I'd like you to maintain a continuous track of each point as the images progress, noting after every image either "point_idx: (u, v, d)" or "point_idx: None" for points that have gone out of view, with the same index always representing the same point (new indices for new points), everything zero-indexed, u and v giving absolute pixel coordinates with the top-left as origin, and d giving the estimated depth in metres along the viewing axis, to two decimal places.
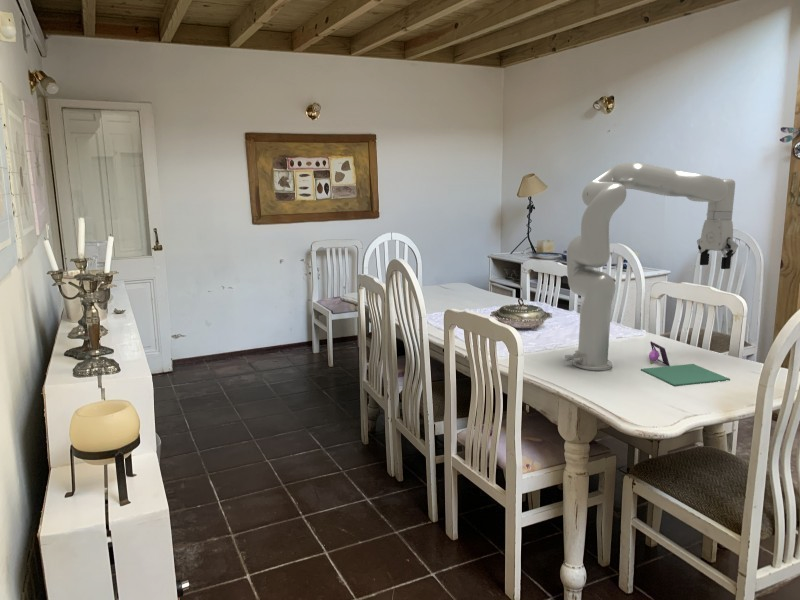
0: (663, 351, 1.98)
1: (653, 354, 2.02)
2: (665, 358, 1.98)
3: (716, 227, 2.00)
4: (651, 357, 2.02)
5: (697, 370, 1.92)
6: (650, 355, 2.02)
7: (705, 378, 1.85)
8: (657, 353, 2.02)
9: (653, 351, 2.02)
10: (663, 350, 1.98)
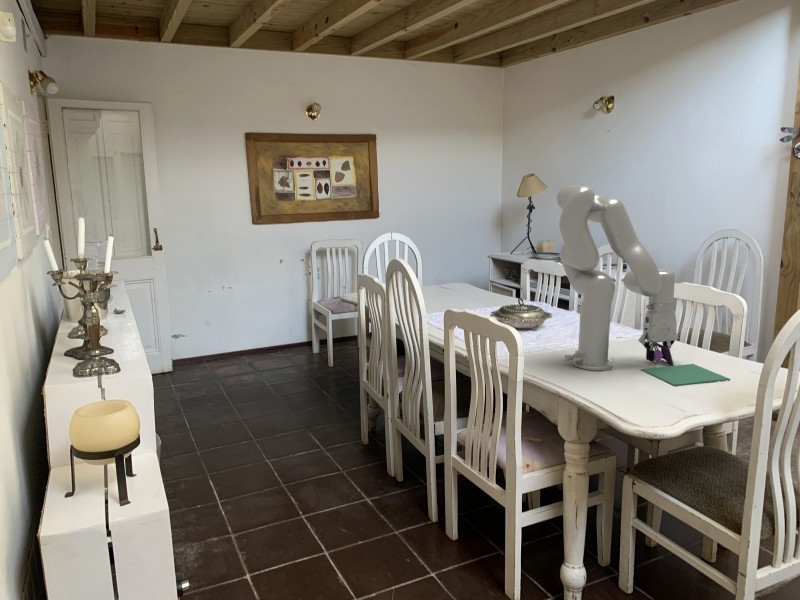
0: (667, 351, 1.97)
1: (657, 354, 2.01)
2: (669, 358, 1.98)
3: (671, 318, 1.98)
4: (655, 357, 2.01)
5: (697, 370, 1.92)
6: (654, 355, 2.01)
7: (705, 378, 1.85)
8: (661, 353, 2.01)
9: (656, 351, 2.02)
10: (667, 350, 1.97)
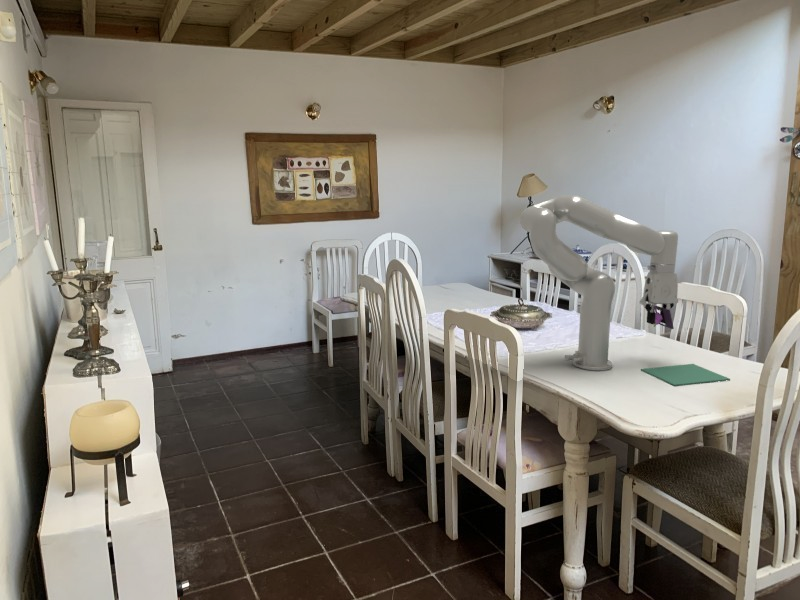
0: (668, 313, 1.95)
1: (656, 317, 1.98)
2: (669, 320, 1.95)
3: (672, 280, 1.95)
4: None
5: (697, 370, 1.92)
6: None
7: (705, 378, 1.85)
8: (660, 316, 1.98)
9: (656, 314, 1.99)
10: (668, 312, 1.94)
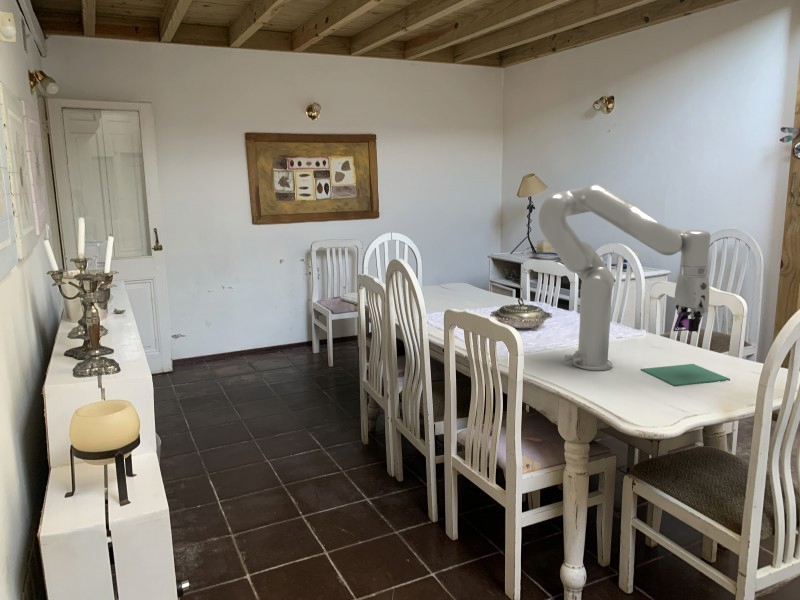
0: None
1: None
2: None
3: None
4: None
5: (697, 370, 1.92)
6: None
7: (705, 378, 1.85)
8: None
9: None
10: None
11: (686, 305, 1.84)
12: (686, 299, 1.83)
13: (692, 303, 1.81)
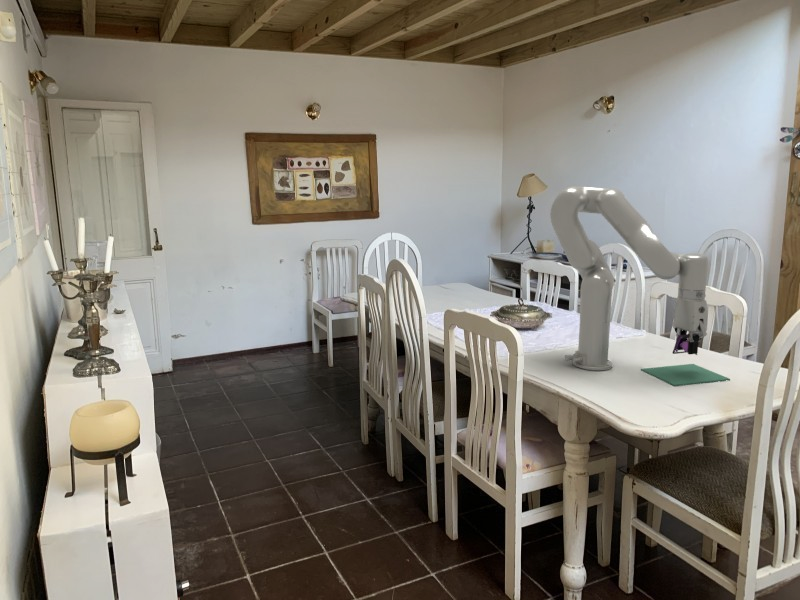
0: None
1: None
2: None
3: None
4: None
5: (697, 370, 1.92)
6: None
7: (705, 378, 1.85)
8: None
9: None
10: None
11: (685, 328, 1.85)
12: (685, 322, 1.84)
13: (691, 326, 1.82)
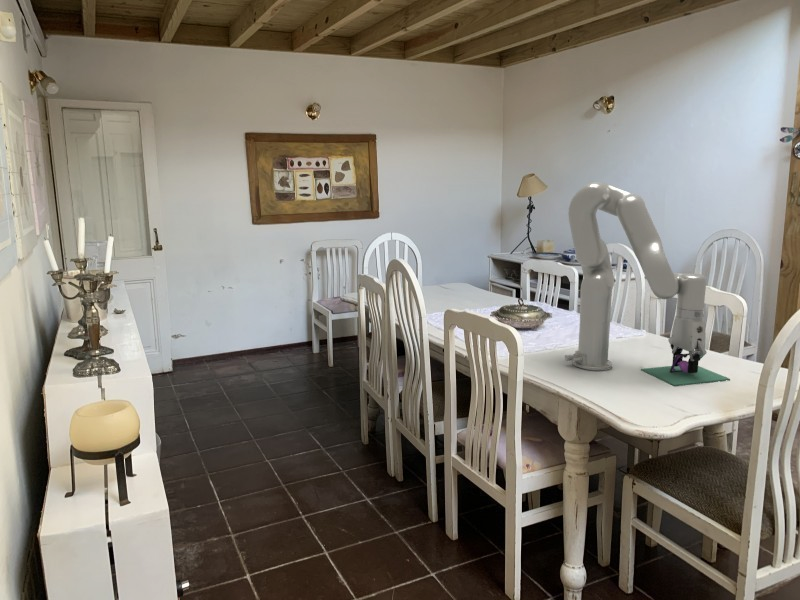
0: None
1: None
2: None
3: None
4: None
5: None
6: None
7: (705, 378, 1.85)
8: None
9: (687, 362, 1.88)
10: None
11: (683, 347, 1.86)
12: (683, 341, 1.86)
13: (689, 346, 1.83)
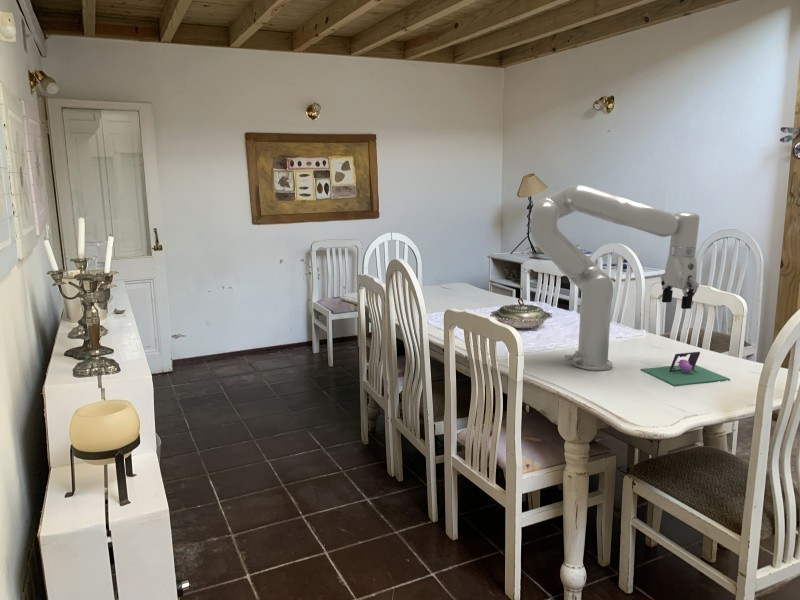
0: (696, 355, 1.91)
1: (689, 364, 1.89)
2: (694, 362, 1.92)
3: None
4: (691, 367, 1.88)
5: (697, 370, 1.92)
6: (690, 366, 1.88)
7: (705, 378, 1.85)
8: None
9: (687, 361, 1.89)
10: (697, 354, 1.91)
11: (674, 285, 1.90)
12: (674, 279, 1.89)
13: (679, 283, 1.87)
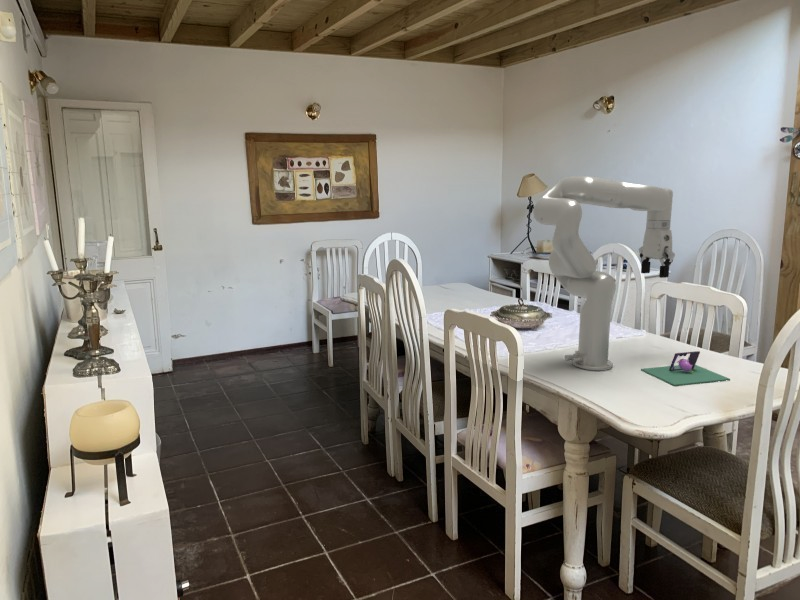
0: (696, 355, 1.91)
1: (689, 363, 1.90)
2: (694, 361, 1.93)
3: None
4: (691, 367, 1.89)
5: (697, 370, 1.92)
6: (689, 365, 1.89)
7: (705, 378, 1.85)
8: None
9: (686, 360, 1.90)
10: (697, 354, 1.91)
11: (652, 256, 2.04)
12: (652, 250, 2.03)
13: (657, 254, 2.01)
